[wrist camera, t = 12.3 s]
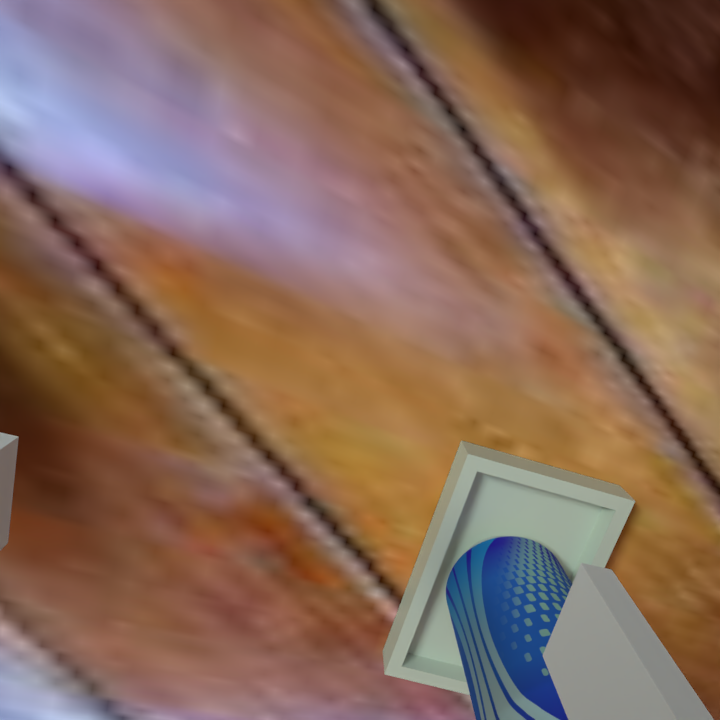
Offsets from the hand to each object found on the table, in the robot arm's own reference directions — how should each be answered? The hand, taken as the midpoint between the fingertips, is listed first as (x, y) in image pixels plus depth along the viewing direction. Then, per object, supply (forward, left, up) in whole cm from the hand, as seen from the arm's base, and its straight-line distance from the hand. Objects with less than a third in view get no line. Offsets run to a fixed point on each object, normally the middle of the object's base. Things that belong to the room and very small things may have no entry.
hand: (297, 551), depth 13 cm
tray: (+14, +17, -25) cm, 33 cm away
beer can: (+14, +17, -25) cm, 33 cm away
